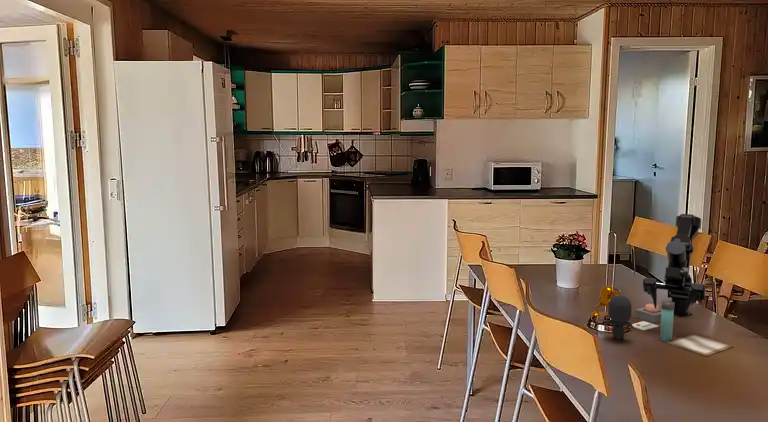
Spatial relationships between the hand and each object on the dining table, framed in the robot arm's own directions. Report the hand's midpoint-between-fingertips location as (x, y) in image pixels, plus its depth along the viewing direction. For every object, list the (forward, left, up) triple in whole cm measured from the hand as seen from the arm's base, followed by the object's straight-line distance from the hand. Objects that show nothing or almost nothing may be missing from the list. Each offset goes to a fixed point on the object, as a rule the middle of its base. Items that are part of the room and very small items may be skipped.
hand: (670, 309), depth 189 cm
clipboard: (-3, +9, -10) cm, 14 cm away
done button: (-14, -16, -8) cm, 23 cm away
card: (-4, -12, -10) cm, 16 cm away
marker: (+2, +1, -10) cm, 10 cm away
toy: (+15, -8, -10) cm, 20 cm away
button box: (-14, -16, -10) cm, 23 cm away
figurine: (-1, -26, -10) cm, 28 cm away
